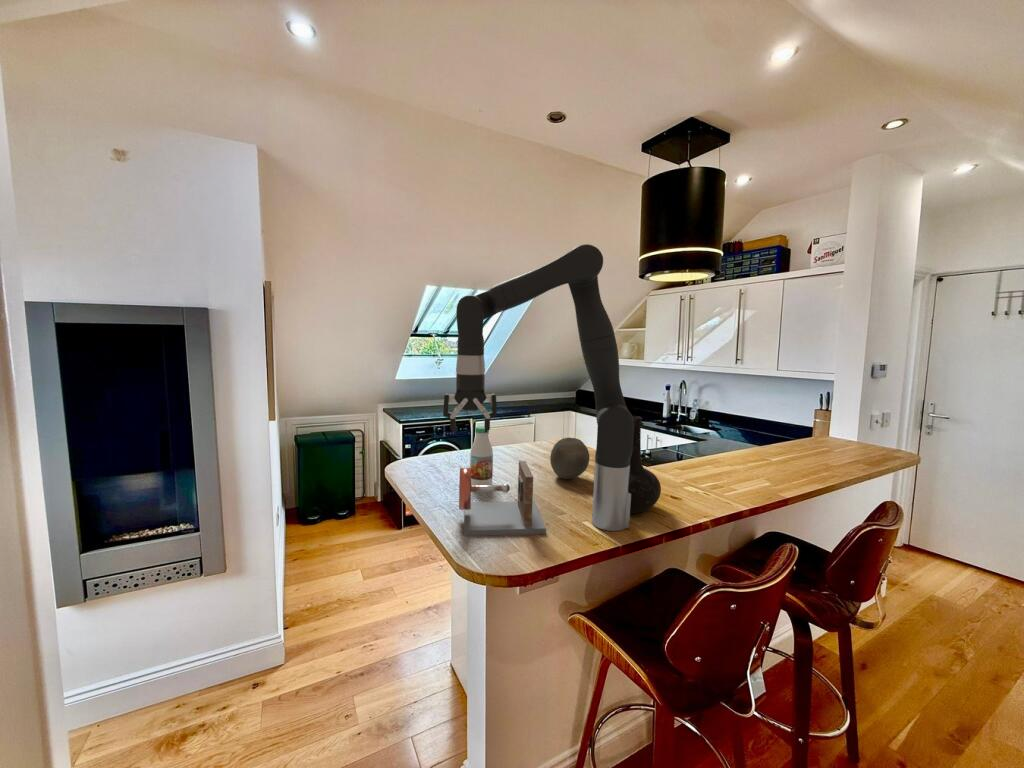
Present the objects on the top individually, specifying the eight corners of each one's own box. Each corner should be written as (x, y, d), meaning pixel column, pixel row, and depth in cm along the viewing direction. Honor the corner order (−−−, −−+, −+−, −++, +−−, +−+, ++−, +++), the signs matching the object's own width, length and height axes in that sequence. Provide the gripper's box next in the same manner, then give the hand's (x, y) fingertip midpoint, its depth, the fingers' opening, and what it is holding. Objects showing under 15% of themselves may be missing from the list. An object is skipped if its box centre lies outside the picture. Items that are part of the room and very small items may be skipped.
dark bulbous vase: (617, 522, 115) (622, 423, 112) (588, 498, 132) (592, 411, 129) (672, 517, 119) (679, 421, 116) (637, 494, 136) (643, 410, 133)
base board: (534, 506, 124) (534, 501, 124) (546, 534, 107) (546, 528, 106) (464, 507, 122) (464, 502, 122) (464, 535, 104) (464, 530, 104)
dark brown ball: (545, 482, 145) (547, 440, 144) (553, 470, 159) (555, 432, 157) (586, 487, 141) (588, 445, 140) (590, 475, 155) (592, 436, 153)
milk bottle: (465, 484, 141) (466, 426, 139) (482, 479, 147) (483, 423, 145) (479, 490, 136) (480, 430, 134) (496, 485, 141) (498, 427, 139)
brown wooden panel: (524, 504, 122) (525, 461, 120) (531, 525, 108) (533, 477, 107) (515, 504, 122) (516, 461, 120) (521, 525, 108) (523, 477, 106)
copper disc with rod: (507, 499, 120) (508, 462, 118) (511, 515, 109) (512, 475, 107) (459, 500, 118) (460, 462, 117) (458, 516, 107) (459, 475, 106)
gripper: (496, 371, 114) (495, 429, 116) (444, 370, 113) (443, 429, 114) (498, 373, 107) (497, 435, 109) (442, 373, 105) (442, 435, 107)
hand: (469, 432), depth 112 cm, fingers open, 8 cm apart
